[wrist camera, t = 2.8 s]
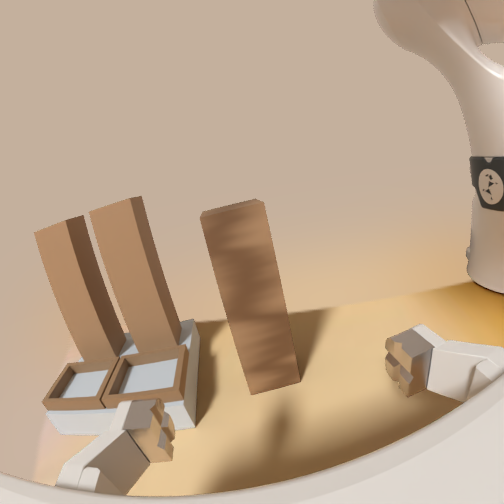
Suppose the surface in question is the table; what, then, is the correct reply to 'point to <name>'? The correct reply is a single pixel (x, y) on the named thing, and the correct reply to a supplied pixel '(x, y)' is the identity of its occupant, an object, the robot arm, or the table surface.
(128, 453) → the robot arm
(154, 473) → the table surface
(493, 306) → the table surface
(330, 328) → the table surface
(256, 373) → the stool leg
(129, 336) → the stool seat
